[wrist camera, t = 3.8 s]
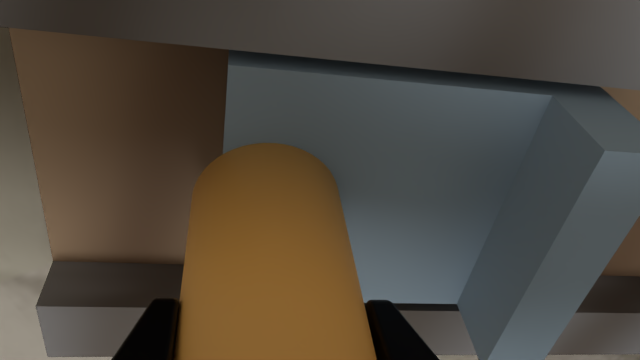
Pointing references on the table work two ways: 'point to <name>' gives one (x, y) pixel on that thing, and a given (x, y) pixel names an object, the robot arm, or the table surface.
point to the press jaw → (400, 207)
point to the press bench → (209, 119)
